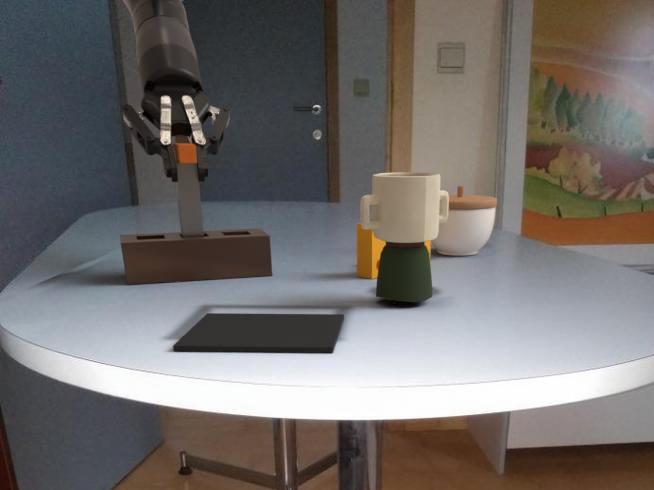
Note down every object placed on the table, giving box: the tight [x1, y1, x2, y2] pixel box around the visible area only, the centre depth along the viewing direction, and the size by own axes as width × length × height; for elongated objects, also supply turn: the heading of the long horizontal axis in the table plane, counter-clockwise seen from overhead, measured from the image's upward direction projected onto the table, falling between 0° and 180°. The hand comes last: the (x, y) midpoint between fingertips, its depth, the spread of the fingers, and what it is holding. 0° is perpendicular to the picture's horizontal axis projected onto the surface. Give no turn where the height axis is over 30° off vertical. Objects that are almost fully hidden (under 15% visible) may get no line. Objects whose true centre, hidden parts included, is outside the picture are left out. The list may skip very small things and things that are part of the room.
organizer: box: [119, 228, 273, 286], centre depth 93 cm, size 7×18×5 cm, turn 108°
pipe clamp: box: [356, 222, 432, 280], centre depth 95 cm, size 12×4×6 cm, turn 137°
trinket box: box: [431, 185, 498, 257], centre depth 107 cm, size 11×11×9 cm
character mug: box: [359, 171, 450, 305], centre depth 77 cm, size 11×7×13 cm, turn 121°
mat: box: [172, 312, 345, 354], centre depth 68 cm, size 14×12×1 cm
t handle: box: [172, 142, 205, 238], centre depth 91 cm, size 8×3×14 cm, turn 18°
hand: (188, 176), depth 87 cm, fingers closed on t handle, 2 cm apart
